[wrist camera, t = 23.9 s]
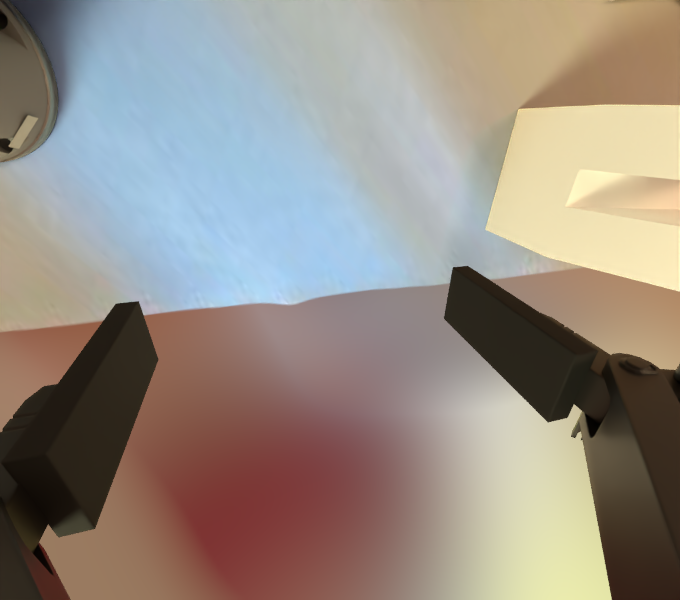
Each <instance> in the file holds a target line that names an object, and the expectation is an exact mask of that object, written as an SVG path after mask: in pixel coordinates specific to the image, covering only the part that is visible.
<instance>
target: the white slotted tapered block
mask: <svg viewBox="0 0 680 600" xmlns="http://www.w3.org/2000/svg"><path fill="white" fill-rule="evenodd" d="M485 230H487V231H490V232H492V233H494V234H496V235H498V236H501V237H503V238H505V239H507V240H510V241H512V242H514V243H516V244H519V245H521V246H523V247H525V248H527V249H530V250H532V251H534V252H536V253H539V254H541V255H543V256H545V257H548V258H552V259H556V260H560V261H564V262H568V263H572V264H575V265H579V266H583V267H587V268H591V269H595V270H599V271H603V272H606V273H610V274H614V275H618V276H622V277H626V278H630V279H634V280H637V281H641V282H645V283H649V284H653V285H657V286H661V287H665V288H668V289H672V290H677V291H680V105H586V106H566V107H547V108H527V109H518V113H517V117H516V120H515V124H514V127H513V131H512V135H511V138H510V142H509V145H508V149H507V153H506V156H505V160H504V164H503V167H502V171H501V174H500V178H499V182H498V185H497V189H496V193H495V196H494V200H493V203H492V207H491V211H490V214H489V218H488V221H487V225H486V229H485Z"/></svg>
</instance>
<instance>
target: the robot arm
mask: <svg viewBox="0 0 680 600" xmlns="http://www.w3.org/2000/svg"><path fill="white" fill-rule="evenodd" d="M57 113H58V89H57V83H56V79H55V75H54V71H53V68H52V65H51V63H50V60H49V58H48V56H47V53H46V51H45V49H44V47H43V46H42V44H41V42H40V40H39V39H38V37H37V35H36V34H35V32H34V31H33V29H32V28H31V26H30V25H29V24H28V22H27V21H26V19H25V18H24V17H23V16H22V15H21V13H20V12H19V11H18V10H17V9H16V8H15V6H14V5H13V4H12V3H11V2H10V1H9V0H0V162H6V161H11V160H15V159H18V158H21V157H24V156H26V155H28V154H30V153H31V152H33V151H34V150H36V149H37V148H38V147H40V146H41V145H42V144H43V143H44V142H45V140H46V139H47V138H48V136H49V135H50V133H51V131H52V129H53V127H54V125H55V121H56V118H57ZM444 319H445V320H446V321H447V322H448V323H449V324H450V325H451V326H452V327H453V328H454V329H455V330H456V331H457V332H458V333H459V334H460V335H461V336H462V337H463V338H464V339H465V340H466V341H467V342H468V343H469V344H470V345H471V346H472V347H473V348H474V349H475V350H476V351H477V352H478V353H479V354H480V355H481V356H482V357H483V358H484V359H485V360H486V361H487V362H488V363H489V364H490V365H491V366H492V367H493V368H494V369H495V370H496V371H497V372H498V373H499V374H500V375H501V376H502V377H503V378H504V379H505V380H506V381H507V382H508V383H509V384H510V385H511V386H512V387H513V388H514V389H515V390H516V391H517V392H518V393H519V394H520V395H521V396H522V397H523V398H524V399H525V400H526V401H527V402H529V404H530V405H531V406H532V407H533V408H534V409H535V410H536V411H537V412H538V413H539V414H540V415H541V416H542V417H543V418H544V419H545V420H546V421H547V422H551V421H556V420H560V419H564V418H567V417H568V415H569V413H570V411H571V409H572V407H573V404H575V405H576V406H577V407H578V408H580V409H581V410H582V413H581V415H580V417H579V419H578V421H577V423H576V425H575V427H574V429H573V431H572V435H571V437H574V438H575V437H576V435H577V433H578V432H580V431H581V434H582V438H581V440H583V445H584V450H585V455H586V461H587V466H588V472H589V477H590V483H591V488H592V494H593V499H594V504H595V510H596V515H597V521H598V526H599V531H600V537H601V542H602V548H603V553H604V559H605V564H606V570H607V575H608V581H609V586H610V592H611V597H612V600H680V364H679V366H678V367H677V369H676V370H665V369H659V368H658V367H656V366H655V365H654V364H652V363H651V362H649V361H646V360H644V359H642V358H640V357H636V356H633V355H629V354H622V353H617V354H612V355H610V354H608V353H607V352H605V351H603V350H602V349H600V348H599V347H597V346H596V345H594V344H592V343H591V342H589V341H588V340H586V339H585V338H583V337H581V336H580V335H578V334H577V333H574V331H572V330H570V329H569V328H568V327H564V325H563V324H561V323H559V322H558V321H557V320H555V319H553V318H552V317H549V316H547V315H544V314H542V313H539V312H538V311H536V310H535V309H533V308H532V307H530V306H528V305H527V304H525V303H524V302H522V301H521V300H519V299H518V298H516V297H515V296H513V295H512V294H510V293H509V292H507V291H505V290H504V289H502V288H501V287H499V286H498V285H496V284H495V283H493V282H492V281H490V280H489V279H487V278H485V277H484V276H482V275H481V274H479V273H478V272H476V271H475V270H473V269H472V268H470V267H469V266H462V267H453V270H452V275H451V281H450V287H449V293H448V298H447V304H446V310H445V316H444ZM157 362H158V357H157V354H156V351H155V348H154V345H153V342H152V339H151V337H150V334H149V330H148V327H147V325H146V322H145V319H144V316H143V313H142V310H141V307H140V304H139V301H137V302H128V303H119V304H115V306H114V307H113V308H112V310H111V311H110V313H109V314H108V315H107V317H106V318H105V320H104V321H103V322H102V324H101V325H100V327H99V328H98V330H97V331H96V332H95V333H94V335H93V336H92V337H91V339H90V340H89V342H88V343H87V344H86V346H85V347H84V349H83V350H82V351H81V353H80V354H79V355H78V357H77V358H76V360H75V361H74V362H73V364H72V365H71V367H70V368H69V369H68V371H67V372H66V373H65V375H64V376H63V378H62V379H61V380H60V382H59V383H58V384H56V385H50V386H44V387H42V388H41V389H40V390H38V391H37V392H36V393H34V394H33V395H32V396H31V397H29V398H28V399H27V400H25V401H24V403H23V404H22V405H21V406H20V408H19V409H18V410H17V412H16V413H15V414H14V415H13V419H10V420H9V421H8V423H7V424H6V425H5V426H4V428H3V431H2V432H0V600H70V597H69V596H68V594H67V592H66V590H65V588H64V586H63V584H62V582H61V580H60V578H59V576H58V574H57V573H56V570H55V569H54V567H53V565H52V563H51V561H50V559H49V557H48V555H47V553H46V551H45V550H44V548H43V547H42V546H41V544H40V543H39V541H40V539H41V537H42V535H43V533H44V531H45V529H46V527H47V525H48V524H49V526H50V527H51V528H52V530H53V531H54V532H55V533H56V535H57V536H58V537H62V536H66V535H71V534H75V533H79V532H83V531H87V530H92V529H95V527H96V525H97V522H98V519H99V517H100V514H101V511H102V508H103V506H104V503H105V501H106V498H107V495H108V492H109V490H110V487H111V485H112V482H113V479H114V477H115V474H116V471H117V468H118V466H119V463H120V460H121V458H122V455H123V452H124V450H125V447H126V445H127V441H128V439H129V436H130V434H131V431H132V428H133V426H134V423H135V420H136V418H137V415H138V412H139V410H140V407H141V404H142V402H143V399H144V396H145V394H146V391H147V388H148V386H149V383H150V380H151V378H152V375H153V372H154V370H155V367H156V364H157Z"/></svg>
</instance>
